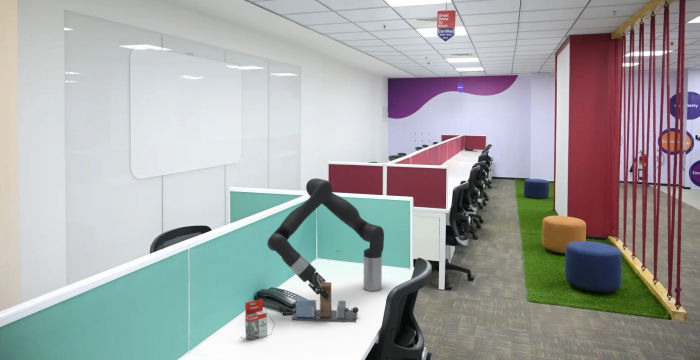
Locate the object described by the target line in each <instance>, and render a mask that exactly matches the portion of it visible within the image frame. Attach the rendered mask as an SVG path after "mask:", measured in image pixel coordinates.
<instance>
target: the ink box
mask: <svg viewBox="0 0 700 360" xmlns="http://www.w3.org/2000/svg"><path fill="white" fill-rule="evenodd" d="M244 315H245V316H244V317H245V318H244V319H245V322H244V323H245V338H246V339H247V340H248V341H253V340H257V339H259V338H264V337H267V336H268V320H267V319H268V316H267V312H266V311H265V310H264V299H263V298H260V299H257V300H252V301H251V300H250V301H247V302H245V314H244Z"/></svg>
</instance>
